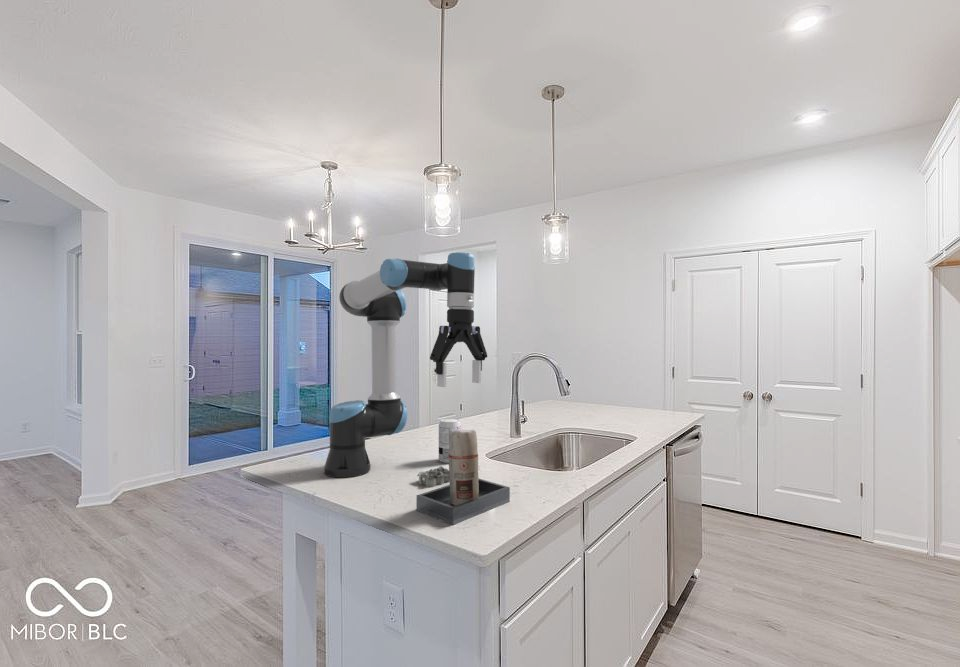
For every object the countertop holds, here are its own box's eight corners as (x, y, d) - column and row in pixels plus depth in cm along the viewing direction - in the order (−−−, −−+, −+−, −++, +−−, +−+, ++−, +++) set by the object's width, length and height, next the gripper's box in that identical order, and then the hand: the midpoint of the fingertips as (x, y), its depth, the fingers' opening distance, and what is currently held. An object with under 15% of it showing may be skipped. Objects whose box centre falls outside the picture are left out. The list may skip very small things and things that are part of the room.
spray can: (443, 505, 125) (443, 430, 125) (455, 495, 132) (455, 425, 133) (472, 509, 122) (472, 432, 122) (483, 499, 130) (483, 427, 130)
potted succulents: (429, 489, 142) (429, 475, 142) (415, 483, 147) (414, 470, 147) (456, 481, 149) (456, 468, 149) (441, 476, 155) (441, 464, 155)
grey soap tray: (453, 525, 114) (453, 508, 114) (416, 510, 124) (416, 495, 124) (509, 501, 131) (509, 487, 131) (473, 490, 140) (473, 476, 140)
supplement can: (438, 458, 176) (438, 418, 177) (460, 457, 177) (460, 418, 177) (438, 464, 168) (438, 422, 168) (461, 463, 169) (461, 422, 169)
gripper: (436, 306, 119) (435, 389, 119) (499, 310, 137) (498, 382, 137) (417, 307, 124) (416, 387, 124) (481, 310, 142) (480, 380, 142)
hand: (459, 384), depth 130 cm, fingers open, 13 cm apart
